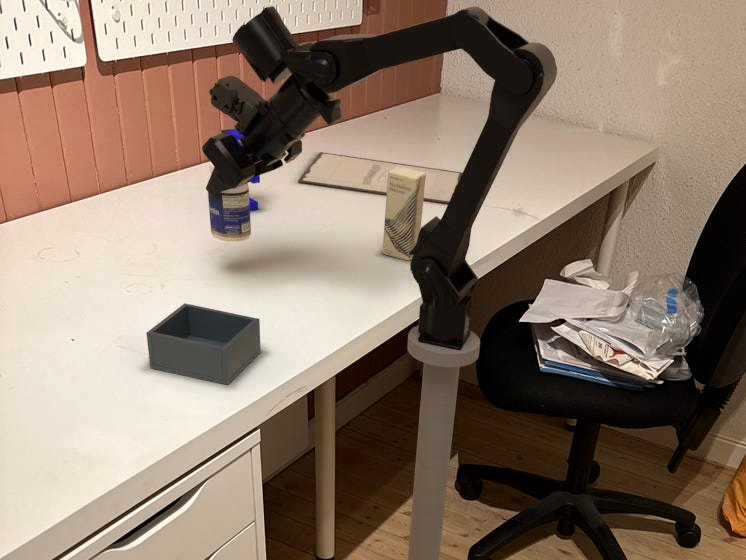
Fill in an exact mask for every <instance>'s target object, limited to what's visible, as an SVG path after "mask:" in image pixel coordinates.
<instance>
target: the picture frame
mask: <svg viewBox="0 0 746 560" xmlns="http://www.w3.org/2000/svg"><path fill="white" fill-rule="evenodd" d="M397 166H400V167H404V168H409V169H413V170H417V171H421V172H425V173H426V179H425V188H424V199H423V201H424V200H426V201H432V202H439V203H445V204H449V201H450V199H451V197H452V195H453V193H454V190H455V188H456V186H457V184H458V182H459V180H460V177H461V175H462V173H463V171H462V172H461V171H453V170H447V169H440V168H433V167H427V166H419V165H412V164H406V163H399V162H392V161H386V160H385V161H384V160H378V159H371V158H365V157H357V156H351V155H344V154H343V155H342V154H336V153H331V152H330V153H329V152H323V151H320V152H319V153H318V154H317V155H316V157H314V159H313V160H312V162H311V163H310V164H309V165H308V167H307V168H306V170H305V171H304V172H303V173H302V175H301V176H300V177H299V178H298V180H297V182H302V183H306V184H314V185H320V186H329V187H336V188H341V189H348V190H355V191H362V192H369V193H375V194H381V195H382V194H383V195H387V183H388V172H389V171H391V170H392V169H394V168H396V167H397Z"/></svg>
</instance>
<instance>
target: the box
mask: <svg viewBox="0 0 746 560" xmlns="http://www.w3.org/2000/svg"><path fill="white" fill-rule="evenodd" d="M425 179H426V173H425V172H421V171H417V170H413V169H409V168H404V167H400V166H397V167H396V168H394V169H392V170H391V171H389V172H388V183H387V194H386V198H385V214H384V225H383V226H384V227H383V239H382V254H383V255H385V256H390V257H394V258H398V259H401V260H404V261H411V259H412V257H413V256H414V255H409V252H410V251H411V250H413V248H414V247H415V245H416V243H417V239H418V235H419V232H420V229H421V227H422V218H423V210H424V209H423V208H424V188H425Z"/></svg>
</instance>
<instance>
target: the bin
mask: <svg viewBox="0 0 746 560" xmlns="http://www.w3.org/2000/svg"><path fill="white" fill-rule="evenodd" d="M260 323H261V322H260V318H257V317H252V316H247V315H243V314H238V313H233V312H227V311H223V310H220V309H214V308H209V307H204V306H200V305H195V304H189V303H186V302H185V303H183V304H181V305H180V306H179V307H178V308H177V309H175V310H174V311H173V312H171V313H170V314H169V315H168V316H166V317H165V318H163V320H161V321H160V322H158V323H157V324H156V325H154V326H153V327H152V328H151V329H149V330H148V331H147V332H146V342H147V350H148V359H149V367H150V369H152V370H157V371H161V372H166V373H170V374H174V375H175V374H176V375H180V376H185V377H189V378H194V379H198V380H203V381H208V382H213V383H217V384H221V385H227V386H228V385H230V384H231V383H232V382H233V381H234V379H236V378H237V377H238V376H239V375H240V374H241V373H242V372H243V371H244V370H245V369H246V368H247V367H248V366H249V365H250V364H251V363H252V362H253V361H254V360H255V359H256V358H258V356H259V355H260V354H261V327H260V325H261V324H260Z"/></svg>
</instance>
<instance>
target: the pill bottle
mask: <svg viewBox="0 0 746 560" xmlns="http://www.w3.org/2000/svg"><path fill="white" fill-rule="evenodd" d="M213 169H214V166H213V164H212V163H211V162H210V161H209V172H210V175H211V174H212V172H213ZM208 181H209V179H208ZM208 181H207V182H208ZM249 197H250V188H249V183H247V184H245V185H243V186H240V187H237V188H235V189H234V188H232V189H229V190H226V191H222V192H219V193H216V194H213V195H210V194H209V193H208V192H207V199H208V210H209V211H208V212H209V222H210V233H211V235H212V237H214V238H215V239H217V240H219V241H223V242H230V243H231V242H232V243H233V242H234V243H237V242H243V241H246V240H248V239H250V238H251V236H252V224H251V211H250V204H249Z"/></svg>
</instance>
